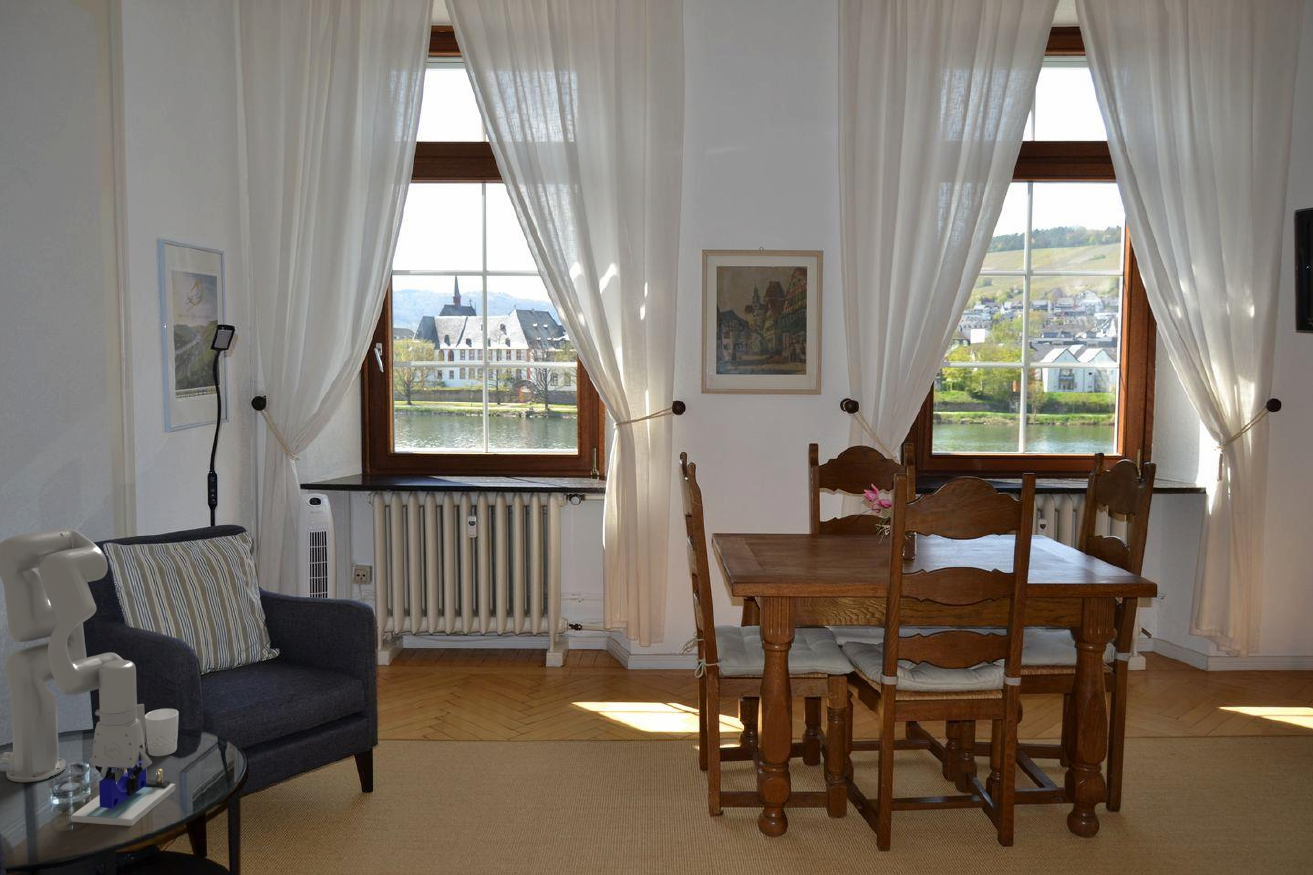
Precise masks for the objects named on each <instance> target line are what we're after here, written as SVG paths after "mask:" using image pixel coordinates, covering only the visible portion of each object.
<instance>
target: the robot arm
mask: <svg viewBox="0 0 1313 875" xmlns="http://www.w3.org/2000/svg"><path fill="white" fill-rule="evenodd" d="M107 560H108V559H107V557H106V555H105V554H104V552H103V550H101V548H100V547H99V546H98V545H96V543H94V542H93V541H91V540H90V539H89V538H88V537H87V536H85V535H84V534H82V533H80V532H79V531H78V530H76V529H73V528H69V527H63V528H55V529H49V530H43V531H33V532H28V533H22V534H18V535H14V536H10V537H7V538H5V539H3V540H1V541H0V580H1V582H2V585H3V589H4V599H5V610H6V618H7V627H8V632H9V635H10V638H12V640H13V641H16V642H18V643H26V642H33V641H38V640H42V639H46V638H49V641H47V642H42V643H39V644H35V645H29V646H27V647H23V648H21V649H18V650H15V651H14V652H12V653H11V654H10V655H9V656H7V657H6V660H5V663H4V671H5V676H6V680H7V685H8V688H9V695H10V697H9V698H10V707H11V709H10V710H11V729H12V732H11V733H12V752H9V751H8V752H7V751H6V752H5V751H4V752H3V753H2V755H1V758H0V764H1V765H9V768H8V769H7V771H6V778H7V779H8V780H9V781H12V782H17V783H32V782H33V783H34V782H40V781H45V780H46V779H47V780H48V779H50V778H49V777H50V776H53V775H55V774H57V773H59V772H61V771H62V770H64V769H65V770H66V768H67V761H66V760H65V759H63V758H62V757H60V754H59V730H58V703H57V698H56V696H55V694H54V693H53V692H52V691H51V690H50V689H49V688H48V687H47V684H48V683H51V682H53V681H54V682H55V685H56V687H57V688H58V690H59V691H60V693H63V694H64V695H65V696H69V697H70V696H71V697H73V696H78V695H82V694H84V693H88V692H92V691H95V690H98V694H99V695H98V696H99V709H96V710H95V716H98V717H99V721H98V722H97V723H96V726H95V729H94V734H93V736H94V737H93V744H92V746H93V747H92V755H91V756H90V758H89V759H88V763H89V764H90V765H92V767H93V768H95V770H96V771H97V772H98V773H99V774H100V778H102V779H112V780H116V773H115V772H113V769H124V768H126V769H127V772H128V776H129V778H128V779H127V795H128V796H131V795H132V794H134V793H135V792H136V791H137V790H138V787H139V784H138V775H139V774H140V773H141V772H142V771H143V770H144V769H145V768H148V767H150V766H151V765H152V763H153V762H152V760H151V758H150V757H149V755H148V754H147V753H146V746H145V744H146V743H144V736H143V730H142V726H141V722H140V719H137V705H138V700H137V699H138V696H137V668H136V664H135V663H134V662H133V661H131V660H127V659H123V658H122V657H121V656H120V655H118V654H117V653H115V652H104V653H101V654H97V655H92V656H88V657H87V652H86V643H85V641H86V640H85V632H84V623H85V622H86V621H87V620H89V619H90V618H91V617H93V616H94V615H95V613H96V612H97V604H96V603H95V600H94V598H93V594H92V591H91V588H90V587H89V586H90V585H89V584H88V583H89V582H90V583H91V582H94V581H99V580H101V579H103V578H105V577H106V575H107V574H108V570H109V566H108V564H109V563H108V561H107ZM36 568H38V571H37V570H36ZM138 761H141V762H142V765H140V766H139V764H138ZM65 767H66V768H65ZM133 769H134V770H133ZM65 770H64V771H65ZM61 773H62V772H61ZM53 777H54V776H53Z"/></svg>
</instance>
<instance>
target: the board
mask: <svg viewBox="0 0 1313 875" xmlns="http://www.w3.org/2000/svg"><path fill="white" fill-rule="evenodd" d="M116 784H117V781H116ZM175 791H176V783H170V785H169V786H168V787H167V788H154V787H143V788H142V789H140V790H139V791H137V792H136V793H134V794H133V795H131V796H130V797H128V798H127V799H125V800H124V801H122V802H121V803H119V804H118V805H116V806H115V807H113V808H103V807H100V796H99V794H98V795H96V797H94V798H93V799H92V800H90V801H89V802H88V803H86V804H85V805H84V806H81V808H79V809H78V810H77V811H75V812H74V813H73V814H71V815H70V816H71V823H83V824H87V823H88V824H96V825H97V824H98V825H113V826H114V825H116V826H127V827H133V826H134V825H135V824H136V823H137V822H139V821H140V820H141V819H142V818H144V817H145V816H146V815H147V814H148V813H150V812H151V811H152V810H153V809H154V808H156V806H158V805H159V804H160V803H161V802H163V801H165V799H166V798H167V797H169V796H170V795H171V794H173V793H174V792H175Z"/></svg>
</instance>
